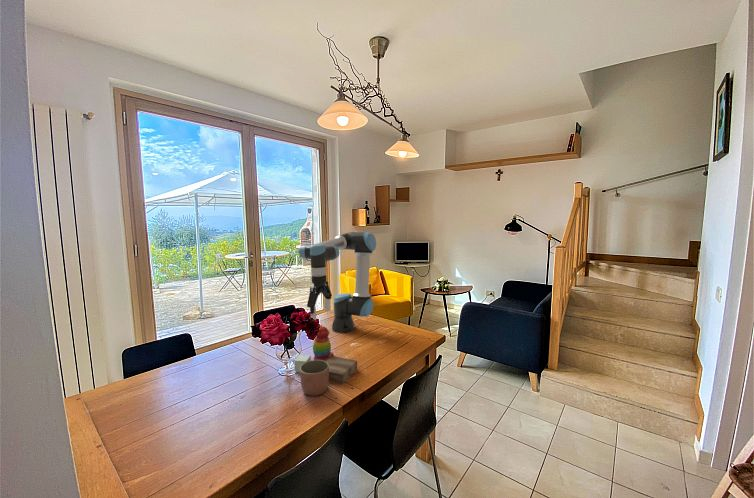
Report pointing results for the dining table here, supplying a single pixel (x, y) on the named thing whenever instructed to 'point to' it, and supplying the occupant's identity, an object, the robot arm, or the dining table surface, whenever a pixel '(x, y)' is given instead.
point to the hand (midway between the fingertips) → (320, 315)
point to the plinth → (341, 369)
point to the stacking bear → (322, 345)
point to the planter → (314, 377)
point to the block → (301, 361)
